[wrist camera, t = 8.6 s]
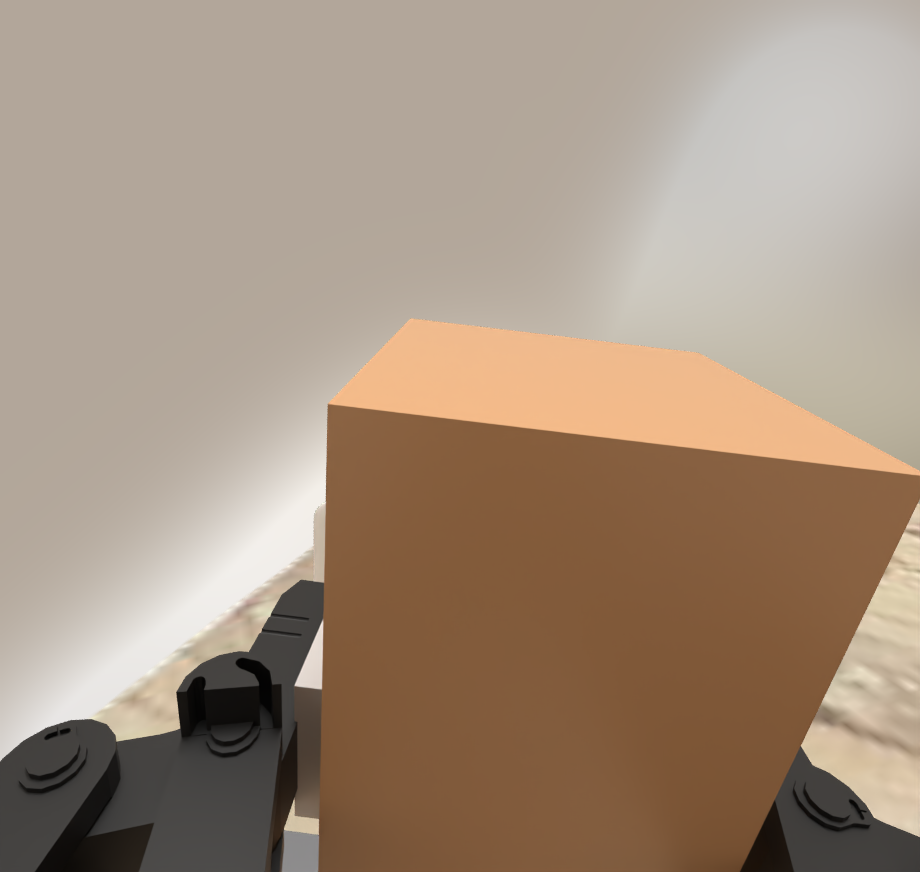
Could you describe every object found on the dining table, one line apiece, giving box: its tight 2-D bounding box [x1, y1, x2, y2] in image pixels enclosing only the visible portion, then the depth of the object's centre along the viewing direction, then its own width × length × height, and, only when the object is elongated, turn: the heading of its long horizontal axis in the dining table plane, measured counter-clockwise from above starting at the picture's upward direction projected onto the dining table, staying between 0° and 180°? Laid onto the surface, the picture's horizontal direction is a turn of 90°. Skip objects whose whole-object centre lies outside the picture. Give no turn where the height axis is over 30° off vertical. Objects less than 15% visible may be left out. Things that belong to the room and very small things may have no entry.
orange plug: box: [318, 319, 920, 872], centre depth 9 cm, size 5×5×14 cm
